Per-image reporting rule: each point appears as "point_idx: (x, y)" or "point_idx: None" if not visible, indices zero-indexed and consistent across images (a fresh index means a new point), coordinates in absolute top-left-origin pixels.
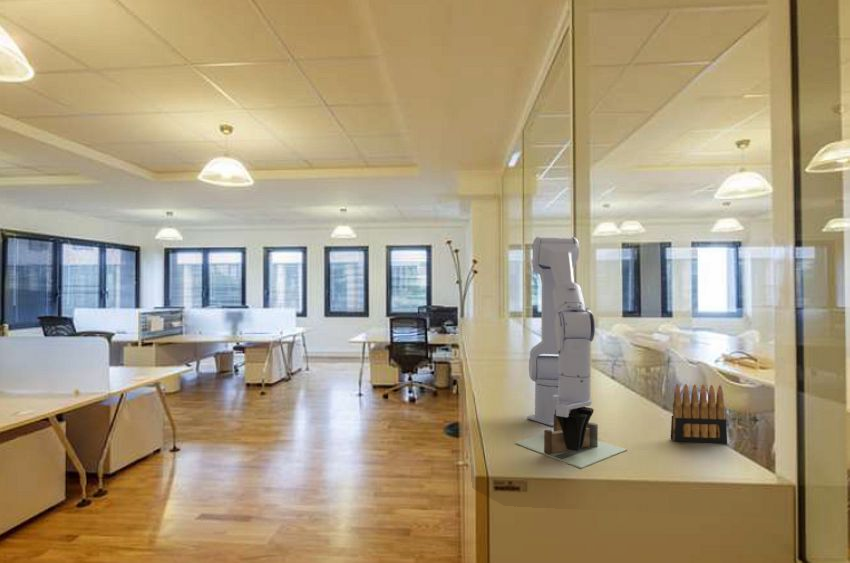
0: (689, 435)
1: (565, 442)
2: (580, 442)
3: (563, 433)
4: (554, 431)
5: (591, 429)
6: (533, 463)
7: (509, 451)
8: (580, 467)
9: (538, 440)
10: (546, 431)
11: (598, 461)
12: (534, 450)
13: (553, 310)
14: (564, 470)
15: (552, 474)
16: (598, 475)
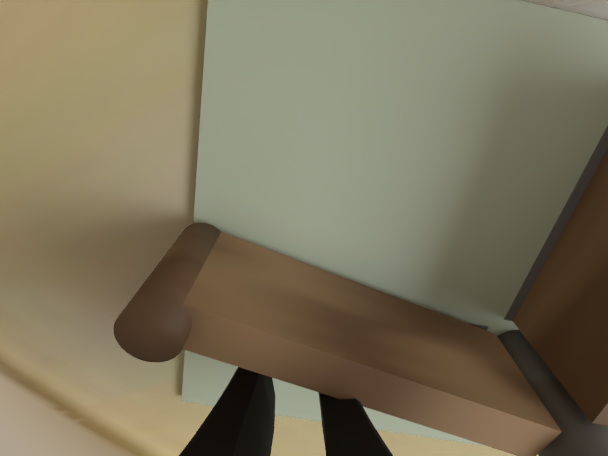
0: None
1: (234, 375)
2: (271, 446)
3: (201, 426)
4: (256, 331)
5: (541, 453)
6: (32, 233)
7: (35, 8)
8: (183, 396)
9: (405, 69)
10: (120, 333)
11: (316, 417)
12: (198, 147)
13: None
14: (104, 360)
15: (18, 344)
16: (179, 447)
